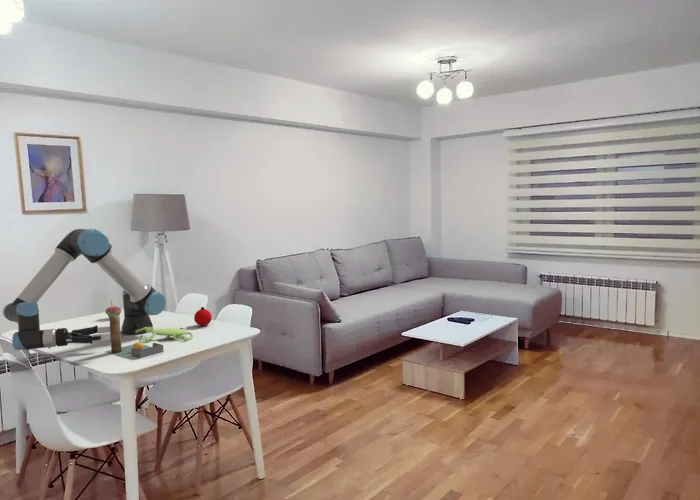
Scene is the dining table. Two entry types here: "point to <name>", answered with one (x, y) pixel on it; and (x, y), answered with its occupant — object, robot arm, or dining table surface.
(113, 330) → the peg
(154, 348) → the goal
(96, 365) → the dining table surface
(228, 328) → the dining table surface
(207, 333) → the dining table surface
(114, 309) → the cupcake
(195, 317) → the ornament
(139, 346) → the ball
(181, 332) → the figurine
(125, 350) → the mat
